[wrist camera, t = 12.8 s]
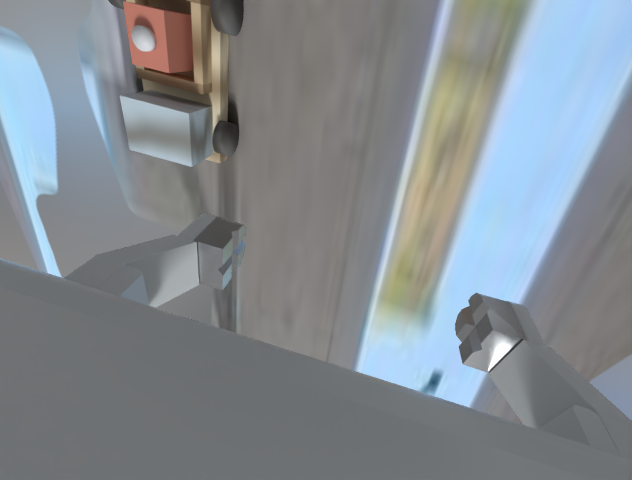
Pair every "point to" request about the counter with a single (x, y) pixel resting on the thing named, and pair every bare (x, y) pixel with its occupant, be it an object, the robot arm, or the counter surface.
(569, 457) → the robot arm
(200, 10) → the chassis
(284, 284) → the counter surface
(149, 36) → the block
